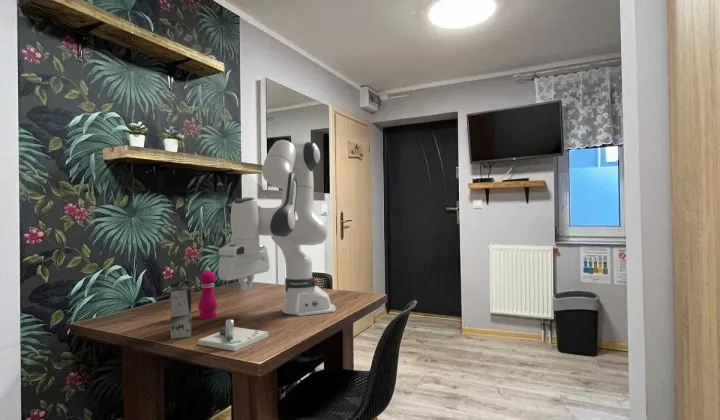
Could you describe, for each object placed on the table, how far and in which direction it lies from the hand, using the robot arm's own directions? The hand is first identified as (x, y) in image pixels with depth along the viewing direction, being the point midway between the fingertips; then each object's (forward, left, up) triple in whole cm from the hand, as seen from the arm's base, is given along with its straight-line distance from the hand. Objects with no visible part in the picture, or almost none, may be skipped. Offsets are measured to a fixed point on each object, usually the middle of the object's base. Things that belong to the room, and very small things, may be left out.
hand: (246, 289), depth 126 cm
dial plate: (+4, -2, -17) cm, 17 cm away
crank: (+6, 0, -14) cm, 16 cm away
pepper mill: (+18, -36, -17) cm, 44 cm away
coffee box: (+23, -13, -17) cm, 31 cm away
